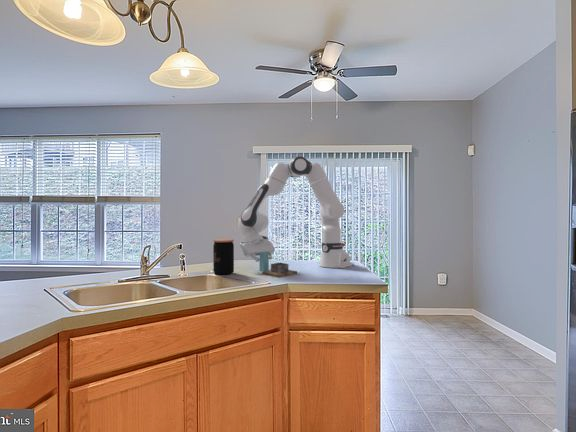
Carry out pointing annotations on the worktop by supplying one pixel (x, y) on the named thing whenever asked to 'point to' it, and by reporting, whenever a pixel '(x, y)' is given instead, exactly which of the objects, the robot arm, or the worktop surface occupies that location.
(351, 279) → the worktop surface
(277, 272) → the wooden block on base
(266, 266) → the post
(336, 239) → the robot arm
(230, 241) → the coffee jar
